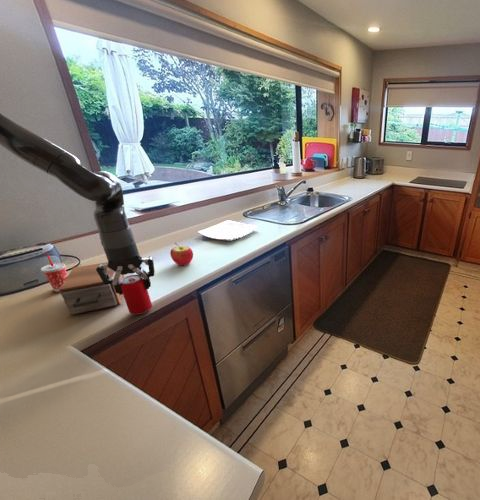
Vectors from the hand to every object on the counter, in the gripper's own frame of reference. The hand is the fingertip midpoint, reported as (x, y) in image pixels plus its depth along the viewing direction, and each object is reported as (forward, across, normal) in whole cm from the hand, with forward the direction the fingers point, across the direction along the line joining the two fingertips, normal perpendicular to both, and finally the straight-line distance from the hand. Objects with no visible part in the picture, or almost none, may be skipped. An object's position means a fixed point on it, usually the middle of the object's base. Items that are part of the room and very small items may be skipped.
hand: (134, 290), depth 89 cm
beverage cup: (+8, +26, -28) cm, 39 cm away
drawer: (+7, +13, -11) cm, 18 cm away
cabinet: (+8, +13, -15) cm, 21 cm away
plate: (+8, -36, -60) cm, 71 cm away
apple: (+8, -13, -31) cm, 35 cm away
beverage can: (+8, 0, 0) cm, 8 cm away
